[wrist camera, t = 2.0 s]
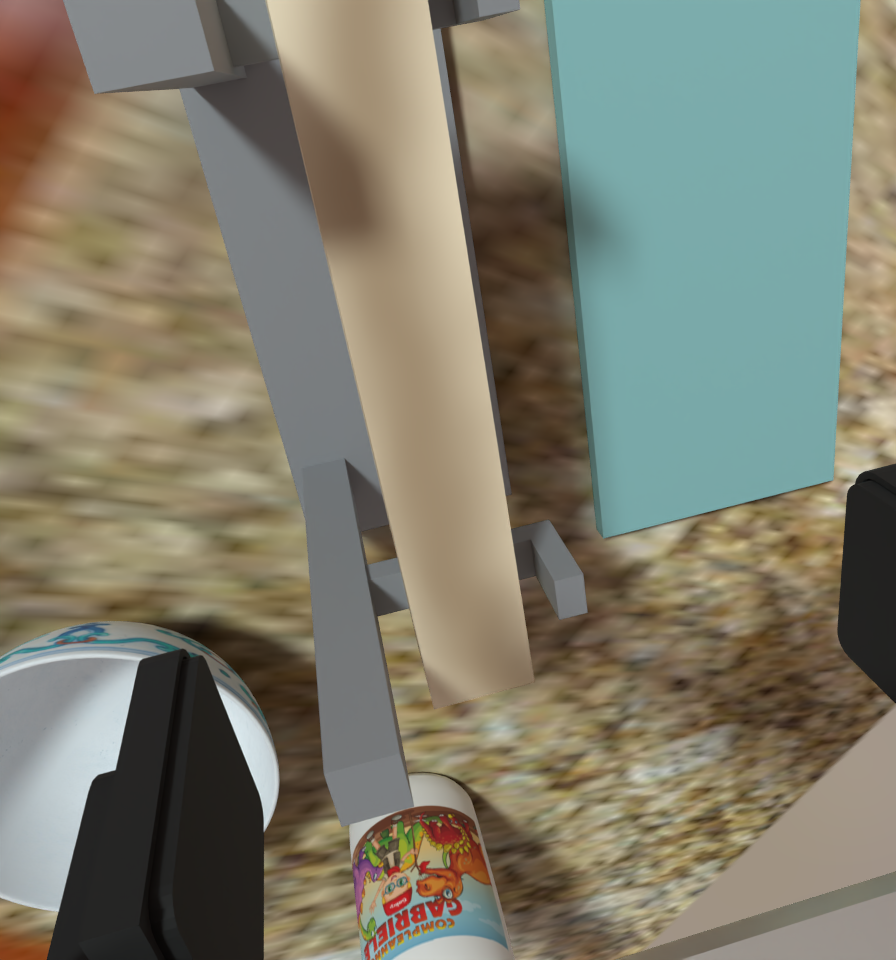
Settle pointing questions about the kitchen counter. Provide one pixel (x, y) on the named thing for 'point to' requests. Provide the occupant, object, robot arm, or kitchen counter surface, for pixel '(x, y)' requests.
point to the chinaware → (87, 740)
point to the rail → (409, 323)
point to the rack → (306, 346)
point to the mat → (705, 243)
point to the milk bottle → (427, 880)
